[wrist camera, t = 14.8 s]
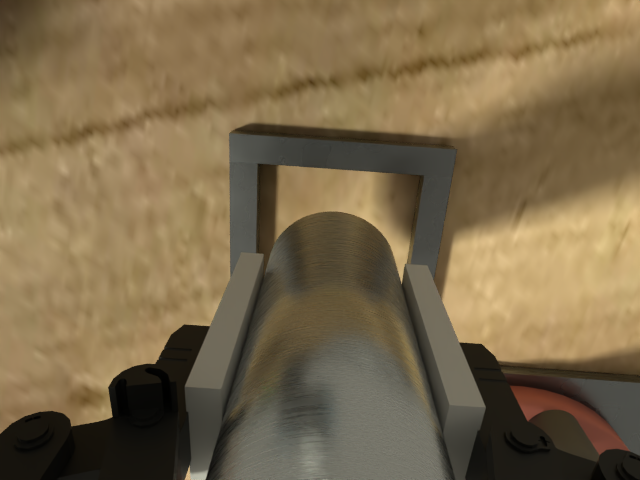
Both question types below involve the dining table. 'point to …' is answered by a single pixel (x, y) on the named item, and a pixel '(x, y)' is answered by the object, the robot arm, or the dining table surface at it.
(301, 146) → the grey flat square frame
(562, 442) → the red disc with handle
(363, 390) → the metal peg
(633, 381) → the wheel base
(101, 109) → the dining table surface
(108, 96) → the dining table surface
